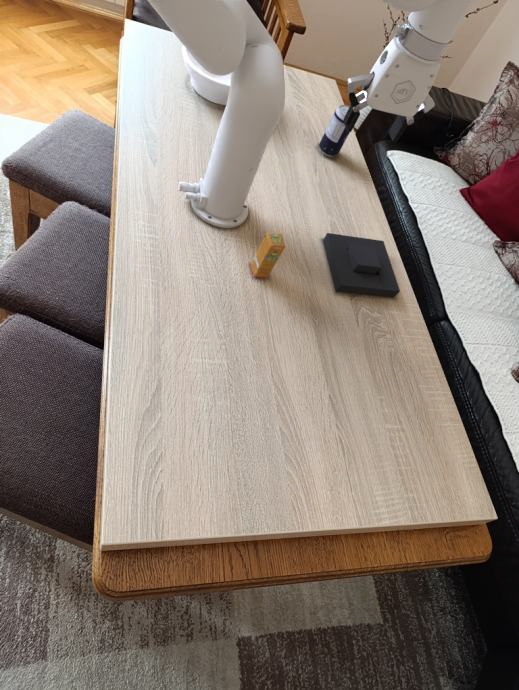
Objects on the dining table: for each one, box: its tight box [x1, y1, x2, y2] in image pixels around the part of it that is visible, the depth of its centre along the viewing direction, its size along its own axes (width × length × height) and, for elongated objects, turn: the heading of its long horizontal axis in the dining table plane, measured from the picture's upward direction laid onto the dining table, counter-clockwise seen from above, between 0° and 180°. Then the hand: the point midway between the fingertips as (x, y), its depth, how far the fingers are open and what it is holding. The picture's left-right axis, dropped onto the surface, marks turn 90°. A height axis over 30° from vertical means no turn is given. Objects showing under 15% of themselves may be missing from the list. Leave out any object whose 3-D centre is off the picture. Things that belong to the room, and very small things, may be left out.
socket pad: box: [322, 232, 401, 299], centre depth 112 cm, size 15×15×2 cm
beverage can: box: [318, 104, 351, 158], centre depth 128 cm, size 6×6×12 cm
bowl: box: [181, 44, 231, 106], centre depth 128 cm, size 21×21×8 cm
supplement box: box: [250, 232, 286, 278], centre depth 99 cm, size 3×3×10 cm
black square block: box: [347, 244, 381, 275], centre depth 111 cm, size 6×6×4 cm
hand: (369, 132), depth 93 cm, fingers open, 9 cm apart
